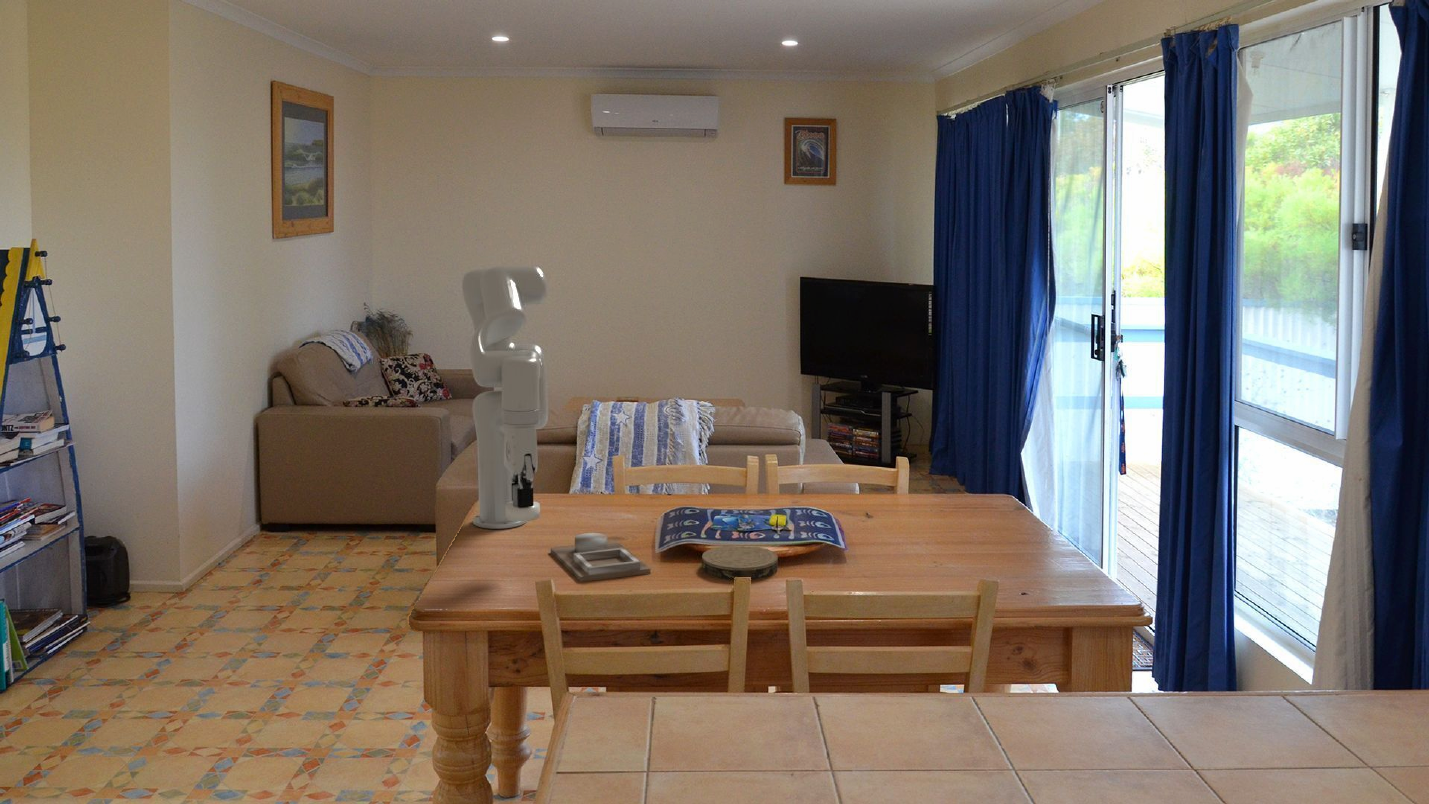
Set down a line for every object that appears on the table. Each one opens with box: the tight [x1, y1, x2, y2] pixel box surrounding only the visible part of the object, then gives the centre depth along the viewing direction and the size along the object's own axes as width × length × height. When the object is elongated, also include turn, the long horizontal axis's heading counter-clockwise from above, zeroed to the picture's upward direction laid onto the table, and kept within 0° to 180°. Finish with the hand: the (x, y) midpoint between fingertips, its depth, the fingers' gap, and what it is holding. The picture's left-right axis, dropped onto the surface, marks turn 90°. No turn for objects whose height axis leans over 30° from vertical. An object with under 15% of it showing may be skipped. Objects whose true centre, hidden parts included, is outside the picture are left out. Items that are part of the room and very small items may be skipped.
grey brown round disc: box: [701, 545, 779, 581], centre depth 252 cm, size 16×16×3 cm
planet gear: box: [505, 484, 541, 522], centre depth 248 cm, size 7×7×6 cm
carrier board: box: [550, 532, 651, 583], centre depth 255 cm, size 22×15×4 cm
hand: (522, 503), depth 248 cm, fingers closed on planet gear, 4 cm apart
